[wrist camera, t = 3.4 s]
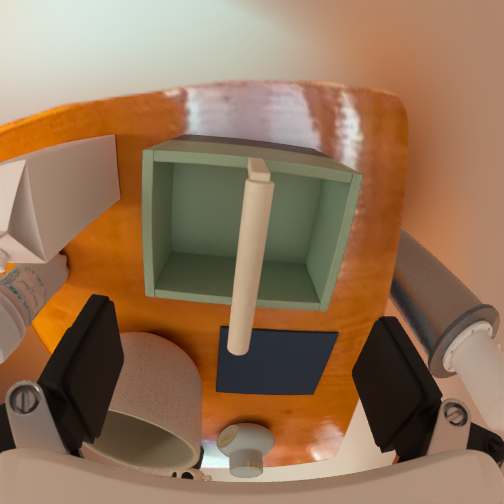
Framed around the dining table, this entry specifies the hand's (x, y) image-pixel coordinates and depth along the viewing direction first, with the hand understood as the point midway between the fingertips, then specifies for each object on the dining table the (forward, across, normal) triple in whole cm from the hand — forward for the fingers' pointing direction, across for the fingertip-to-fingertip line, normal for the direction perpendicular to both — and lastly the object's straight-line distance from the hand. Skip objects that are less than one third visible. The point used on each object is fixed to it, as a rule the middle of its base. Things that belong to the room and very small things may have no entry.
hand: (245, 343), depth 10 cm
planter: (+22, +11, +26) cm, 36 cm away
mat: (+22, -7, +25) cm, 34 cm away
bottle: (+22, +24, +11) cm, 34 cm away
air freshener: (+22, -5, +45) cm, 51 cm away
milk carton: (+22, +17, -1) cm, 28 cm away
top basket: (+16, 0, 0) cm, 16 cm away
